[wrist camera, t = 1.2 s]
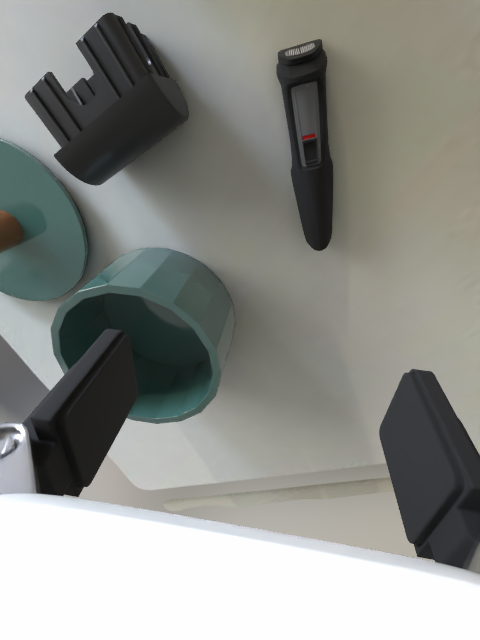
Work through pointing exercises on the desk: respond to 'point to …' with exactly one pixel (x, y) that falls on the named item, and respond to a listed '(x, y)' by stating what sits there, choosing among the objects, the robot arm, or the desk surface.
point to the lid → (37, 230)
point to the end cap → (110, 103)
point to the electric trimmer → (308, 137)
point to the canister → (155, 329)
